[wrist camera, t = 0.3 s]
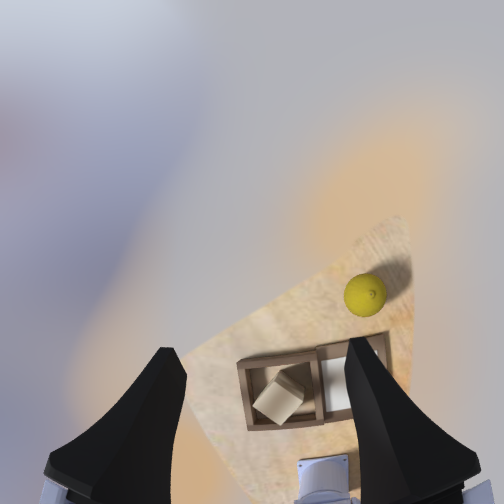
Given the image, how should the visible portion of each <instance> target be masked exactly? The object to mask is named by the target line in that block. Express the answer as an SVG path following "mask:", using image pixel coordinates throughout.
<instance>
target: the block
mask: <svg viewBox="0 0 504 504" xmlns="http://www.w3.org/2000/svg"><path fill="white" fill-rule="evenodd" d="M304 392H305V387H303V386H302V385H300V384H299V383H298V382H296V381H295V380H293V379H292V378H290V377H289V376H288V375H286V374H285V373H284V372H282V371H281V370H280V371H279V372H278V373H277V374H276V376H275V377H274V378H273V379H272V380H271V381H270V383H269V384H268V385H267V386H266V387H265V388H264V390H263V391H262V392H261V393H260V395H259V396H258V398H257V400H256V401H255V403H254V404H253V407H254V408H256V409H257V410H258V411H260V412H261V413H263V414H264V415H265V416H267V417H268V418H270V419H271V420H273V421H274V422H276V423H277V424H279V425H280V426H281V425H282V424H283V423H284V422H285V421H286V419H287V418H288V417H289V416H290V415H291V414H292V413H293V412H294V411H295V410H296V409H297V408H298V407H299V406H300V404H301V403H302V402H303V399H304Z"/></svg>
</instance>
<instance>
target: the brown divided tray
mask: <svg viewBox="0 0 504 504" xmlns="http://www.w3.org/2000/svg"><path fill="white" fill-rule="evenodd" d="M365 338H366V339H367V340H368V342H369V344H370V345H371V347H372V348H373V350H374V351H375V353H376V354H377V356H378V357H379V359H380V360H381V362H382V363H383V365H384V366H385V367H386V369H387V361H386V349H385V340H384V334H378V335H374V336H369V337H365ZM348 345H349V341H345V342H340V343H334V344H329V345H323V346H317V347H316V350H313V351H307V352H300V353H293V354H286V355H278V356H269V357H260V358H250V359H241V360H240V361H238V362H237V369H238V376H239V382H240V388H241V394H242V400H243V406H244V412H245V418H246V424H247V429H248V431H263V430H281V429H293V428H303V427H311V426H319V425H324V423H331V422H337V421H343V420H348V419H354V418H353V414H352V410H351V406H350V401H349V397H348V393H347V388H346V381H345V373H344V365H345V360H346V355H347V350H348ZM303 362H310V367H311V375H312V384H313V392H314V401H315V411H316V414H308V415H300V416H290V417H288V418H287V419H286V421H285V422H284V423H283V424H282V425H281V426H280V425H279V424H277V423H276V422H274V421H273V420H271V419H270V418H263V419H257V415H256V409H255V408H254V407H253V404H254V397H253V390H252V384H251V377H250V371H249V369H250V368H261V367H271V366H280V365H288V364H296V363H303Z"/></svg>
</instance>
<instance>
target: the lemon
mask: <svg viewBox="0 0 504 504" xmlns="http://www.w3.org/2000/svg"><path fill="white" fill-rule="evenodd" d="M386 297H387V292H386V288H385V285H384V283H383V282H382V281H381V280H380V278H378V277H377V276H375V275H372V274H365V273H364V274H360V275H357V276H355V277H353V278H352V279H351V280H350V281H349V282H348V284H347V285H346V288H345V291H344V301H345V304H346V306H347V308H348V309H349V311H350V312H352V313H353V314H355V315H357V316H360V317H369V316H372V315H375V314H376V313H378V312H379V311H380V310H381V309H382V308H383V306H384V304H385V301H386Z"/></svg>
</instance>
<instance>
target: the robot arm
mask: <svg viewBox="0 0 504 504" xmlns="http://www.w3.org/2000/svg"><path fill="white" fill-rule="evenodd" d="M344 373H345V381H346V388H347V393H348V397H349V401H350V406H351V410H352V414H353V418H354V423H355V427H356V431H357V437H358V444H359V455H360V472H361V503H360V500H359V499H357V498H356V497H352V498H351V500H350V493H348V455H346V454H344V455H338V456H331V457H324V458H316V459H307V460H299V461H298V462H297V467H298V476H299V484H300V489H299V495H298V500H295V501H294V504H494V498H493V493H492V487H491V482H490V480H486V481H484V482H482V483H480V484H479V485H477V486H475V487H473V488H471V489H468V490H466V491H463V492H462V490H461V489H463V488H464V487H465V486H464V481H465V480H467V479H469V478H471V477H473V476H475V475H477V474H479V473H480V472H481V467H480V463H479V459H478V457H477V454H476V452H474V451H472V450H470V449H469V448H467V447H466V446H464V445H462V444H461V443H459V442H458V441H457V440H455V439H454V438H453V437H451V436H450V435H448V434H447V433H446V432H445V431H444V430H442V429H441V428H440V427H439V426H438V425H436V424H435V423H434V422H433V421H431V419H430V418H429V417H427V416H426V415H425V414H424V413H423V412H422V411H421V410H420V409H419V408H418V407H417V406H416V405H415V404H414V402H413V401H412V400H411V399H410V398H409V397H408V396H407V394H406V393H405V392H404V391H403V390H402V388H401V387H400V386H399V385H398V383H397V382H396V381H395V380H394V378H393V377H392V376H391V374H390V373H389V372H388V370H387V369H386V367H385V366H384V365H383V363H382V362H381V360H380V359H379V357H378V356H377V354H376V353H375V351H374V350H373V348H372V347H371V345H370V344H369V342H368V340H367V339H366V338H365V337H357V338H350V339H349V345H348V350H347V355H346V360H345V365H344ZM186 381H187V374H186V372H185V370H184V368H183V366H182V364H181V362H180V360H179V358H178V357H177V354H176V352H175V350H174V348H169V347H167V348H165V347H160V348H159V350H158V351H157V352H156V353H155V355H154V356H153V357H152V359H151V360H150V362H149V363H148V364H147V366H146V367H145V368H144V370H143V371H142V372H141V374H140V375H139V376H138V377H137V379H136V380H135V381H134V383H133V384H132V385H131V386H130V388H129V389H128V390H127V391H126V392H125V394H124V395H123V396H122V397H121V398H120V400H119V401H118V402H117V403H116V404H115V405H114V406H113V407H112V408H111V409H110V410H109V411H108V412H107V413H106V414H105V415H104V416H103V417H102V418H101V419H100V420H98V421H97V422H96V423H95V424H94V425H93V426H91V427H90V428H89V429H88V430H87V431H85V432H84V433H82V434H81V435H80V436H78V437H77V438H75V439H74V440H72V441H71V442H69V443H68V444H66V445H64V446H62V447H61V448H59V449H57V450H55V451H53V452H51V453H50V455H49V458H48V461H47V464H46V467H45V470H44V475H45V476H47V477H48V478H50V479H52V480H53V481H55V482H57V483H59V484H61V485H63V486H64V487H66V488H68V490H67V489H65V488H62V487H60V486H59V485H57V484H55V483H53V482H51V481H49V480H46V481H45V484H44V488H43V491H42V495H41V499H40V502H39V504H171V494H170V486H171V484H170V483H171V482H170V481H171V463H172V451H173V444H174V438H175V434H176V430H177V426H178V422H179V417H180V413H181V409H182V405H183V401H184V397H185V390H186ZM344 459H346V460H344ZM300 465H302V466H300Z"/></svg>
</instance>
